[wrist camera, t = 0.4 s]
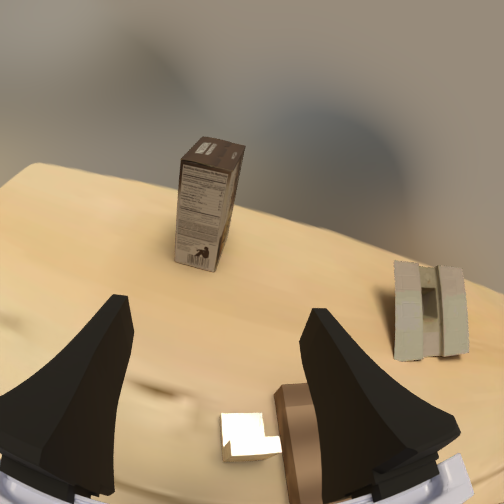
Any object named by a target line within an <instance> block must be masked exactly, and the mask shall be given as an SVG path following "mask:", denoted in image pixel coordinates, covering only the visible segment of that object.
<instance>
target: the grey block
mask: <svg viewBox="0 0 504 504" xmlns="http://www.w3.org/2000/svg"><path fill="white" fill-rule="evenodd" d="M220 429H221V444H222V457H223V462H240V461H257V460H265V459H267V458H269V457H272V456H274V455H276V454H279V453H281V452H282V450H281V443H280V436H272V437H265V435H264V427H263V419H262V413H221V415H220Z"/></svg>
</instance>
